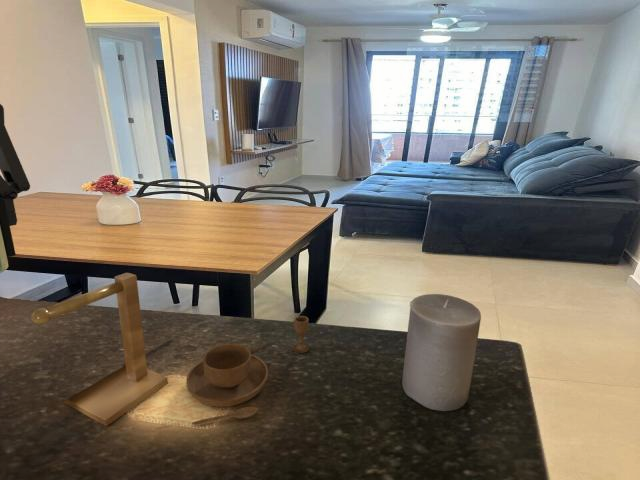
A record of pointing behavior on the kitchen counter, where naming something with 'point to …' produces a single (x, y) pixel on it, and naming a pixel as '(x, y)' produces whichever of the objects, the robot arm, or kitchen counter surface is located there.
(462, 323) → the pillar candle
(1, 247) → the mug
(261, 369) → the place setting
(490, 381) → the kitchen counter surface
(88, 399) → the mug stand
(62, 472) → the kitchen counter surface
